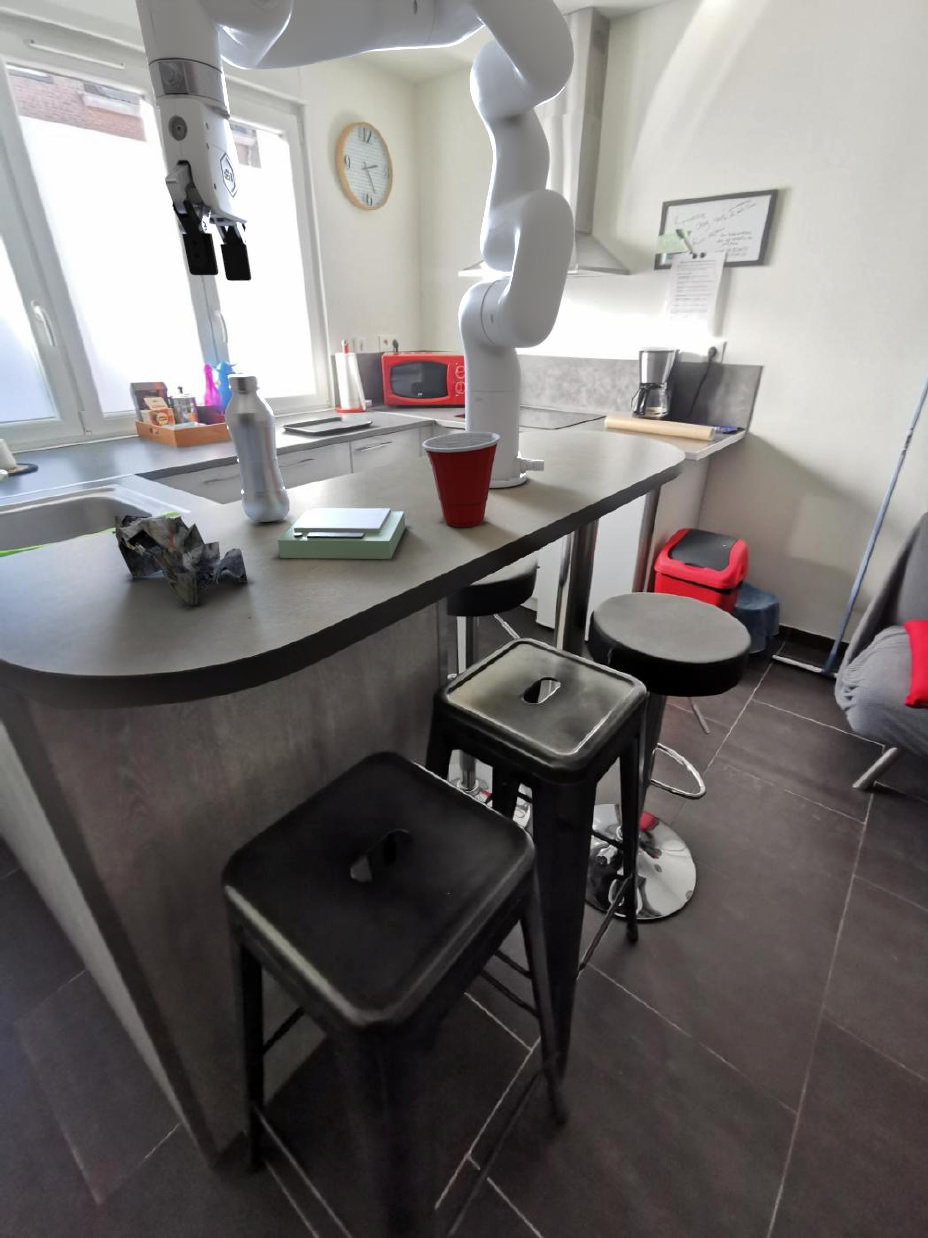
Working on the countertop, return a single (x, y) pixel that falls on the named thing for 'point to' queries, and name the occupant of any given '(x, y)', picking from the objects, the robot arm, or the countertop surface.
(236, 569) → the crumpled newspaper
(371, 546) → the scale
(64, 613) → the countertop surface
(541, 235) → the robot arm
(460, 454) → the plastic cup
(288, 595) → the countertop surface
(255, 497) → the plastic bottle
